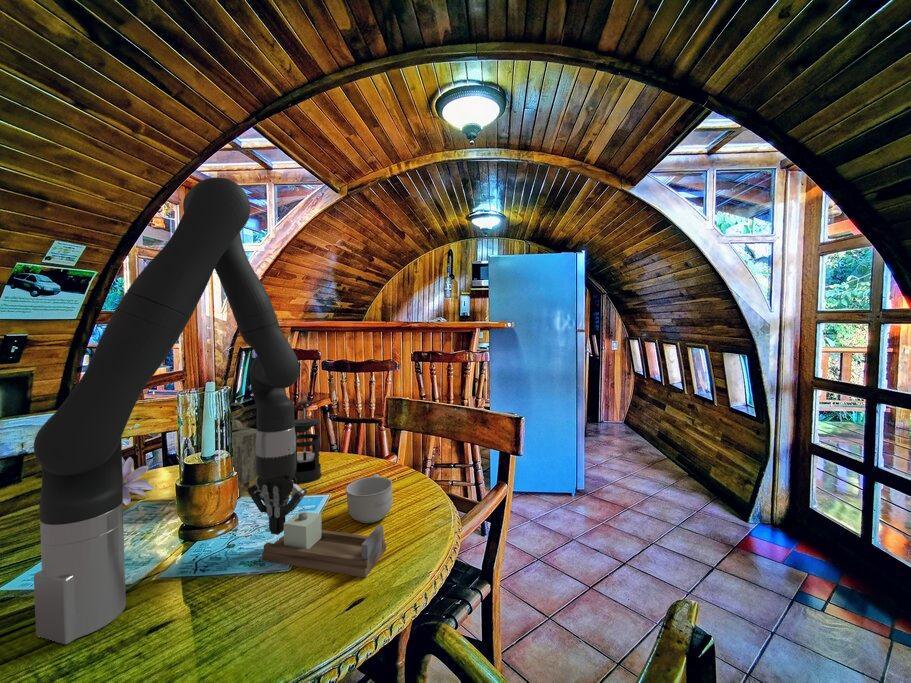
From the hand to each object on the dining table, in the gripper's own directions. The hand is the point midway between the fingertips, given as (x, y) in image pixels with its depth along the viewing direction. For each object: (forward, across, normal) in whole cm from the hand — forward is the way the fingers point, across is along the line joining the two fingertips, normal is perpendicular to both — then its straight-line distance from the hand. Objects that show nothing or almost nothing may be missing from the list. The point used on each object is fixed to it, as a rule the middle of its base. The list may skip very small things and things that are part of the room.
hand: (277, 532), depth 81 cm
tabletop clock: (+3, -27, +18) cm, 33 cm away
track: (+3, +11, 0) cm, 12 cm away
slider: (+1, +6, 0) cm, 6 cm away
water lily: (+3, -53, +10) cm, 55 cm away
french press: (+3, -17, +34) cm, 38 cm away
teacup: (+3, +13, +18) cm, 22 cm away
